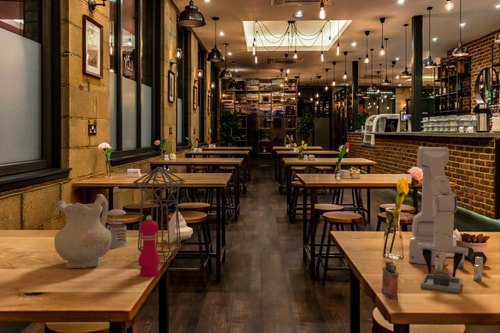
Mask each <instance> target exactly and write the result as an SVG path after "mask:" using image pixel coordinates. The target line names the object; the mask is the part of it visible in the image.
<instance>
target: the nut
mask: <svg viewBox="0 0 500 333" xmlns="http://www.w3.org/2000/svg"><path fill="white" fill-rule="evenodd" d="M433 275H434V282H433V284H434V285H440V286H447V287H448V286H449V278H450V277H451V276H450V272H447V271H443V270H442V271H435V270H434V272H433Z"/></svg>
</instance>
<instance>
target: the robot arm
mask: <svg viewBox="0 0 500 333" xmlns="http://www.w3.org/2000/svg"><path fill="white" fill-rule="evenodd" d="M416 155H417V156H416V165H417V168H418V169H420V170H421V172H422V183H421V184H422V187H421V189H422V190H421V210H420V212H418V213H417V214H415V215H414V216H413V218H412V223H411V234H412V236H413V237H410V239H409V248H408V249H409V251H408V252H409V253H408V263H413V264H420V265H426V266H427V274H431V275H432V271H433V270H432V268H433V267H432V266H435V260H438V259H439V258H438V259H437V253H439V252H443V253H446V254H453V269H452V278H456V273H457V270H458V268H457V267H458V265H459V263H460V261H461V260H462V258H463V255H465V256H468V248H462V247H463V246H455V245H454V227H455V225H454V224H455V222H454V221H455V214H456V213H457V209H458V199H457V195H456V194H455V193H454V192H453V191H452V187H451V182H450V179H449V178H447V177H446V174H445V173H446V172H445V166H447V164H448V163H449V161H450V160H449V159H450V151H449V148H448V147H447V146H442V147H441V146H439V147H438V146H435V147H434V146H433V147H432V146H419V147H418V148H417V154H416Z"/></svg>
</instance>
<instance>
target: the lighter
mask: <svg viewBox="0 0 500 333" xmlns="http://www.w3.org/2000/svg"><path fill="white" fill-rule="evenodd" d="M384 262H385V266H382V267H381V271H382V278H381V279H382V280H381V282H382V284H381V286H382V287H381V293H382V295H383V296H384V297H385V298H387V299H389V300H390V301H391V300H392V301H396V300H397V301H398V300H399V295H398V289H399V288H398V283H399V281H398V280H399V278H398V277H399V272H398V271H397V266H396V264H394V261H389V260H385V261H384Z"/></svg>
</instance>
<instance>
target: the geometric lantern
mask: <svg viewBox="0 0 500 333" xmlns="http://www.w3.org/2000/svg"><path fill="white" fill-rule="evenodd" d="M158 173H160V175H161V177H162V179H163V180H161V179H156V178H157V176H158ZM172 176H173V177H175V178H177V179H174V178H173V177H172ZM145 177H146V178H145ZM144 178H145V179H144ZM166 178H167V180H168V181H167V180H166ZM142 179H144V180H142ZM141 180H142V181H141ZM139 181H140V182H139ZM150 181H152V183H150ZM185 182H186V180H185V179H183V178H182V177H180V176H178V175H176V174H174V173H172V172H171V171H169V170H167V169H166V168H164V167H162V166H161V167H160V166H157V167H156V168H154V169H153V170H151V171H149V172H148V173H146V174H144V175H143V176H141V177H139V178H137V179H136V180H134V181H133V182H132V184H134V185H135V186H136V187H137V188H138V189H140V191H141V194H140V199H141V201H140V211H139V212H140V214H139V224H138V225H139V227H138V236H137V237H138V238H137V239H138V240H137V250H138V251H139V252H141V251H142V248H143V239H142V233H141V231H140V225H141V223H142V222H143V205H144V206H145V205H146V206H147V205H148V206H151V212H150V213H151V214H150V216H151V217H152V219H151V220H153V218H154V217H153V216H154V215H153V213H154V206H156V216H155V217H156V220H155V222H156V223H157V224H158V225H159V221H158V220H159V207H160V211H161V212H160V213H161V214H160V215H161V216H160V218H161V220H160V222H161V241H160V242H159V241H158V239H159V238H158V237H159V236H158V235H159V234H158V233H159V232H158V231H159V230H158V231H157V232H156V234H157V236H156V237H157V238H156V240H155V245H156V249H157V248H158V245H161V250H157V251H158V254H159V257H160V259H161V258H162V259H163V261H160V264H167V263H169V262H170V261H172V260H173V259H174V258H175V257H174V253H175V252H177V251H178V250H179V249H180V248H181V247H182V243H181V242H182V240H181V239H180V227H179V215H178V211H179V207H178V204H179V191H180V188H181V187H182V185H183V184H184V183H185ZM143 186H144V188H143ZM149 186H151V189H152V190H151V191H148V190H147V189H148V187H149ZM167 186H169V187H167ZM154 187H158V188H156V189H154ZM176 187H177V188H176ZM162 188H163V190H162V191H161V193H160V194H159V196H158V194H157V193H156V192H157V191H159V190H160V189H162ZM165 190H170V194H169V196H168V197H167V199H160V198H161V196H162V195H163V193H164V191H165ZM173 193H176V198H175V196H174V194H173ZM143 194H144V195H143ZM146 194H147V195H148V197H149V198H150V200H146V201H144V199H145V196H146ZM151 194H154V195H155V197H156V198H157V199H153V198H152V197H151ZM171 195H172V198H173V200H172V199H170V197H171ZM149 202H151V203H149ZM154 202H156V203H154ZM163 202H165V203H164V204H163ZM168 202H171V203H169V204H167V203H168ZM159 203H160V204H159ZM171 205H175V212H176V234H177V242H174V243H170V239H169V208H168V207H169V206H171ZM163 207H165V211H166V213H165V214H166V223H167V224H166V225H167V226H166V227H167V232H168V242H164V215H163V214H164V213H163V212H164V211H163V209H164V208H163ZM178 232H179V241H178ZM164 245H168V250H164ZM171 245H172V246H175V247H173V248H172V249H171ZM165 254H167V255H165ZM168 257H170V259H168Z"/></svg>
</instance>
